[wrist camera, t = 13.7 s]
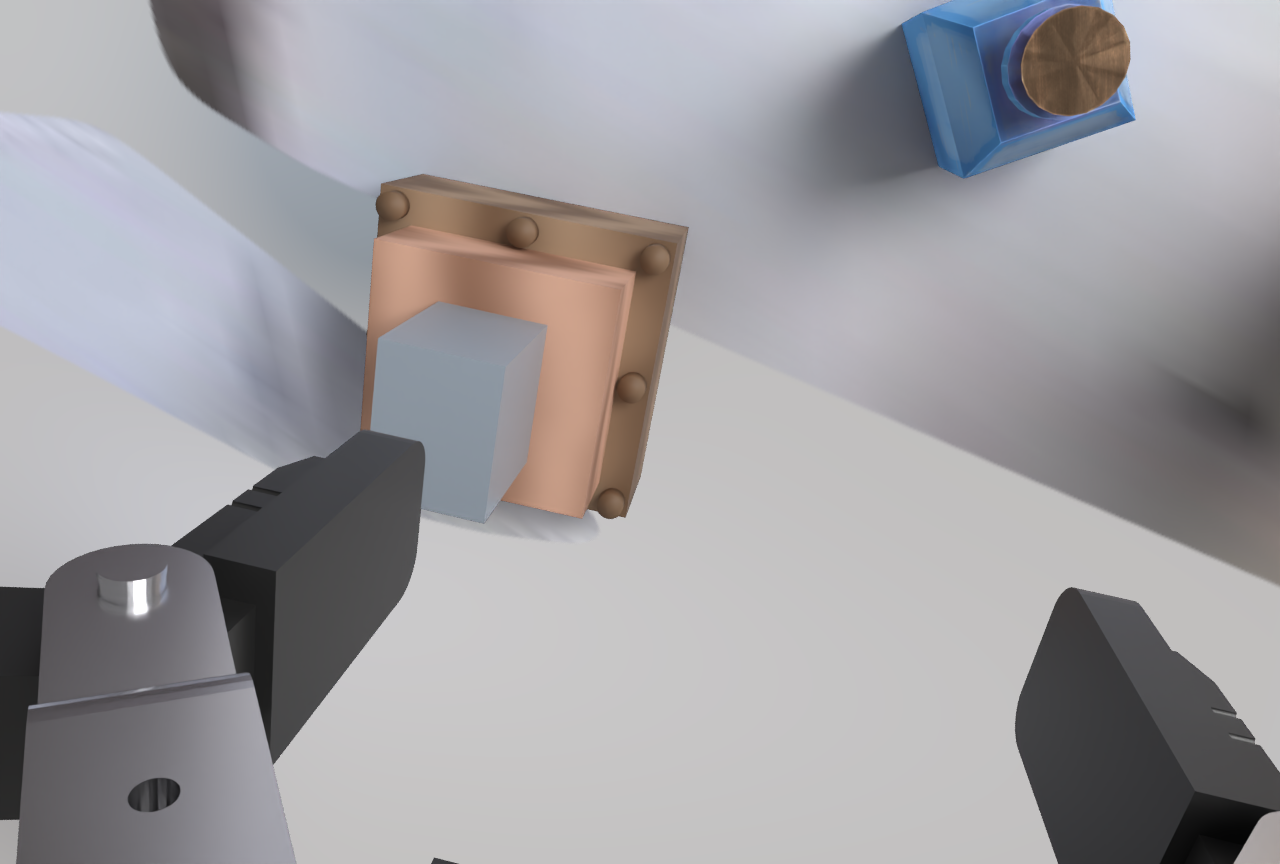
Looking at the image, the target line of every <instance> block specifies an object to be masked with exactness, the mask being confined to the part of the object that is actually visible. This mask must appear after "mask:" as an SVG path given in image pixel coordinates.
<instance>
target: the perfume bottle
mask: <svg viewBox="0 0 1280 864" xmlns="http://www.w3.org/2000/svg"><path fill="white" fill-rule="evenodd" d="M902 27H903V31H904V35H905V39H906V43H907V47H908V50H909V54H910V58H911V62H912V66H913V70H914V73H915V77H916V81H917V85H918V89H919V93H920V96H921V100H922V104H923V108H924V112H925V116H926V119H927V123H928V127H929V131H930V135H931V139H932V143H933V146H934V150H935V154H936V158H937V162H938V166H939V167H941V168H943V169H945V170H947V171H949V172H951V173H953V174H955V175H958V176H960V177H962V178H967V177H970V176H973V175H976V174H979V173H981V172H984V171H987V170H990V169H993V168H996V167H999V166H1002V165H1005V164H1008V163H1011V162H1014V161H1017V160H1020V159H1023V158H1025V157H1028V156H1031V155H1034V154H1037V153H1040V152H1043V151H1046V150H1049V149H1052V148H1055V147H1058V146H1061V145H1064V144H1067V143H1069V142H1072V141H1075V140H1078V139H1081V138H1084V137H1087V136H1090V135H1093V134H1096V133H1099V132H1102V131H1105V130H1108V129H1111V128H1114V127H1116V126H1119V125H1122V124H1125V123H1128V122H1131V121H1134V120H1135V114H1134V109H1133V104H1132V99H1131V94H1130V89H1129V84H1128V79H1127V74H1126V73H1127V69H1128V66H1129V62H1130V41H1129V39H1128V36H1127V33H1126V31H1125V28H1124V26H1123V25H1122V24H1121V23H1120V22H1119V21H1118V20H1117V18H1116V17H1115V14H1114V8H1113V3H1112V0H953V1H950V2H948V3H945V4H943V5H940V6H937V7H935V8H932V9H930V10H927V11H924V12H922V13H920V14H918V15H917V16H915V17H913V18H911V19H909V20H908V21H906V22H904V23H902Z"/></svg>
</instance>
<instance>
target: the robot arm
mask: <svg viewBox="0 0 1280 864" xmlns="http://www.w3.org/2000/svg"><path fill="white" fill-rule="evenodd" d="M424 471H425V449H424V446H423V444H422V443H421V442H420V441H416V440H411V439H407V438H402V437H398V436H393V435H389V434H384V433H380V432H375V431H371V430H366V429H364V430H361V431H360V432H358V433H357V434H356V435H354V436H353V437H352V438H351V439H349V440H348V441H347V442H345V443H344V444H343V445H342V446H340V447H339V448H338V449H337V450H335V451H334V452H333V453H331V454H330V455H329V456H328V457H326V458H320V457H316V456H313V457H310V458H307V459H304V460H301V461H298V462H295V463H292V464H289V465H285V466H282V467H279V468H277V469H276V470H274V471H273V472H271V473H270V474H269V475H267V476H266V477H265V478H263V479H262V480H261V481H259V482H258V483H257V484H255V485H254V486H253V489H252V490H247V491H246V492H244V493H243V494H241V495H240V496H239V497H237V498H236V499H235V500H233V503H232V505H226V506H225V507H224V508H222V509H221V510H219V511H218V512H217V513H215V514H214V515H213V516H211V517H210V518H209V519H207V520H206V521H205V522H203V523H202V524H200V525H199V526H198V527H196V528H195V529H193V530H192V531H191V532H189V533H188V534H187V535H185V536H184V537H183V538H181V539H180V540H178V541H177V542H176V543H174V544H173V545H172V546H167V545H159V544H130V545H122V546H114V547H109V548H104V549H100V550H97V551H93V552H90V553H87V554H84V555H82V556H79V557H77V558H75V559H73V560H71V561H69V562H67V563H65V564H64V565H63V566H61V567H60V568H58V569H57V570H56V571H55V572H54V573H53V574H52V575H51V576H50V578H49V579H48V581H47V582H46V586H45V588H20V587H19V588H17V587H0V820H19V832H18V846H17V860H16V864H296V860H295V855H294V851H293V847H292V843H291V839H290V835H289V830H288V826H287V822H286V818H285V814H284V809H283V805H282V801H281V797H280V792H279V788H278V784H277V780H276V776H275V772H274V767H273V764H274V763H275V762H276V760H277V759H278V758H279V757H280V755H281V754H282V753H283V751H284V750H285V749H286V747H287V746H288V745H289V744H290V742H291V741H292V740H293V738H294V737H295V735H296V734H297V733H298V732H299V731H300V729H301V728H302V726H303V725H304V724H305V723H306V721H307V720H308V719H309V718H310V716H311V715H312V714H313V712H314V711H315V710H316V708H317V707H318V706H319V705H320V703H321V702H322V701H323V699H324V698H325V697H326V695H327V694H328V693H329V692H330V690H331V689H332V688H333V686H334V685H335V684H336V682H337V681H338V680H339V679H340V677H341V676H342V675H343V673H344V672H345V671H346V670H347V668H348V667H349V665H350V664H351V663H352V661H353V660H354V659H355V658H356V657H357V655H358V654H359V653H360V651H361V650H362V649H363V647H364V646H365V645H366V643H367V642H368V641H369V639H370V638H371V637H372V636H373V634H374V633H375V632H376V630H377V629H378V628H379V627H380V625H381V624H382V622H383V621H384V620H385V619H386V617H387V616H388V615H389V614H390V612H391V611H392V610H393V608H394V607H395V606H396V605H397V603H398V602H399V601H400V599H401V598H402V596H403V594H404V592H405V590H406V588H407V586H408V583H409V581H410V578H411V575H412V572H413V568H414V564H415V558H416V553H417V544H418V543H417V542H418V533H419V523H420V513H421V502H422V492H423V481H424ZM1015 734H1016V742H1017V746H1018V750H1019V753H1020V756H1021V758H1022V761H1023V764H1024V767H1025V770H1026V773H1027V776H1028V778H1029V781H1030V784H1031V787H1032V790H1033V793H1034V796H1035V798H1036V801H1037V804H1038V807H1039V810H1040V813H1041V816H1042V818H1043V821H1044V824H1045V827H1046V830H1047V833H1048V836H1049V838H1050V842H1051V844H1052V847H1053V850H1054V853H1055V856H1056V858H1057V861H1058V864H1280V772H1279V771H1278V770H1277V768H1276V767H1275V765H1274V764H1273V763H1272V761H1271V760H1270V758H1269V757H1268V756H1267V754H1266V753H1265V752H1264V750H1263V749H1262V747H1261V746H1260V745H1255V738H1254V736H1253V735H1252V734H1251V732H1250V731H1249V729H1248V728H1247V727H1246V725H1245V724H1244V722H1243V721H1242V720H1241V719H1238V718H1236V711H1235V710H1234V709H1233V707H1232V706H1231V704H1230V703H1229V702H1228V700H1227V699H1226V698H1225V696H1224V695H1223V693H1222V692H1221V691H1220V689H1219V688H1218V686H1217V685H1216V684H1215V683H1214V682H1213V681H1212V680H1211V679H1210V678H1209V677H1207V676H1206V675H1205V674H1204V673H1202V672H1201V671H1200V670H1199V669H1198V668H1196V667H1195V666H1194V665H1193V664H1191V663H1190V662H1189V661H1188V660H1186V659H1185V658H1184V657H1183V656H1181V655H1180V654H1179V653H1178V652H1175V651H1172V650H1171V649H1170V647H1169V646H1168V645H1167V643H1166V642H1165V640H1164V639H1163V637H1162V636H1161V634H1160V633H1159V632H1158V630H1157V629H1156V627H1155V626H1154V624H1153V623H1152V621H1151V620H1150V618H1149V617H1148V615H1147V614H1146V613H1145V611H1144V610H1143V608H1142V607H1141V606H1140V605H1139V603H1137V602H1135V601H1131V600H1127V599H1122V598H1118V597H1113V596H1108V595H1104V594H1100V593H1095V592H1090V591H1086V590H1082V589H1077V588H1072V587H1071V588H1068V589H1066V590H1065V591H1064V592H1063V593H1062V594H1061V595H1060V597H1059V598H1058V600H1057V602H1056V604H1055V606H1054V609H1053V611H1052V614H1051V616H1050V619H1049V622H1048V624H1047V627H1046V629H1045V632H1044V635H1043V637H1042V640H1041V642H1040V645H1039V647H1038V650H1037V653H1036V655H1035V658H1034V660H1033V663H1032V666H1031V669H1030V671H1029V673H1028V676H1027V678H1026V681H1025V684H1024V686H1023V689H1022V691H1021V694H1020V697H1019V701H1018V706H1017V712H1016V721H1015ZM431 864H457V863H453V862H449V861H445V860H441V859H438V858H434V859H433V861H432V863H431Z"/></svg>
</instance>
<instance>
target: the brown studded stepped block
mask: <svg viewBox="0 0 1280 864" xmlns="http://www.w3.org/2000/svg"><path fill="white" fill-rule="evenodd" d="M376 210H377V212H378V214H379V222H378V235H377V238H375V239H374V247H373V262H372V275H371V290H370V303H369V319H368V330H367V346H366V360H365V374H364V388H363V402H362V416H361V430H364V429H366V430H370V428H371V416H372V404H373V392H374V380H375V368H376V357H377V345H378V338H379V337H381V336H382V335H384V334H386V333H387V332H389V331H391V330H392V329H394V328H396V327H397V326H399V325H400V324H402V323H404V322H405V321H407V320H409V319H410V318H412V317H414V316H415V315H417V314H419V313H420V312H422V311H424V310H425V309H427V308H428V307H430V306H432V305H433V304H435V303H437V302H438V301H440V302H444V303H449V304H453V305H458V306H462V307H467V308H471V309H476V310H481V311H485V312H490V313H494V314H499V315H503V316H508V317H512V318H517V319H522V320H526V321H531V322H535V323H540V324H544V325H548V326H547V333H546V339H545V346H544V352H543V359H542V365H541V372H540V378H539V385H538V392H537V398H536V405H535V411H534V418H533V424H532V431H531V437H530V444H529V451H528V457H527V462H526V464H525V465H524V467H523V468H522V470H521V471H520V473H519V474H518V475H517V477H516V478H515V480H514V481H513V483H512V484H511V486H510V487H509V488H508V490H507V491H506V493H505V494H504V496H503V497H502V499H501V500H502V501H506V502H511V503H515V504H520V505H524V506H528V507H533V508H537V509H542V510H546V511H551V512H555V513H559V514H564V515H568V516H573V517H577V518H583V516H584V514H585V511H586V509H589V510H594V511H598V512H599V514H600V515H601V516H603V517H604V518H607V519H613V518H616V517H618V516H621V517H626V514H627V512H628V509H629V506H630V504H631V501H632V498H633V495H634V493H635V490H636V488H637V485H638V482H639V479H640V477H641V472H642V466H643V461H644V456H645V451H646V446H647V441H648V435H649V430H650V424H651V419H652V415H653V409H654V404H655V399H656V394H657V389H658V383H659V378H660V373H661V368H662V363H663V357H664V352H665V347H666V342H667V337H668V332H669V326H670V321H671V316H672V311H673V306H674V300H675V295H676V290H677V285H678V280H679V274H680V269H681V264H682V259H683V254H684V248H685V243H686V238H687V233H688V228H689V227H684V226H679V225H674V224H669V223H664V222H659V221H654V220H649V219H644V218H639V217H634V216H629V215H624V214H619V213H614V212H609V211H604V210H599V209H594V208H589V207H584V206H579V205H574V204H569V203H564V202H559V201H554V200H549V199H544V198H539V197H534V196H530V195H525V194H520V193H515V192H510V191H505V190H500V189H495V188H490V187H485V186H480V185H475V184H470V183H465V182H460V181H455V180H450V179H445V178H440V177H435V176H430V175H425V174H421V175H417V176H412V177H408V178H404V179H399V180H395V181H391V182H386V183H382V184H381V193H380V195H379V197H378V198H377V200H376ZM361 430H360V431H361Z"/></svg>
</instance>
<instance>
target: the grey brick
mask: <svg viewBox="0 0 1280 864" xmlns="http://www.w3.org/2000/svg"><path fill="white" fill-rule="evenodd" d="M547 326H548V325H544V324H540V323H535V322H531V321H526V320H522V319H517V318H512V317H508V316H503V315H499V314H494V313H490V312H485V311H481V310H476V309H471V308H467V307H462V306H458V305H453V304H449V303H444V302H440V301H438V302H437V303H435V304H433V305H432V306H430V307H428V308H427V309H425V310H424V311H422V312H420V313H419V314H417V315H415V316H414V317H412V318H410V319H409V320H407V321H405V322H404V323H402V324H400V325H399V326H397V327H396V328H394V329H392V330H391V331H389V332H387V333H386V334H384V335H382V336H381V337H379V338H378V345H377V357H376V368H375V380H374V392H373V404H372V416H371V428H370V430H371V431H375V432H380V433H384V434H389V435H393V436H398V437H402V438H407V439H411V440H416V441H420V442H421V443H422V444H423V446H424V449H425V471H424V481H423V492H422V502H421V509H424V510H428V511H433V512H437V513H441V514H445V515H450V516H454V517H458V518H462V519H467V520H471V521H475V522H479V523H483V524H484V523H485V522H486V520H487V519H488V517H489V516H490V514H491V513H492V511H493V510H494V509H495V507H496V506H497V504H498V503H499V501H500V500H501V499H502V497H503V496H504V494H505V493H506V491H507V490H508V488H509V487H510V486H511V484H512V483H513V481H514V480H515V478H516V477H517V475H518V474H519V473H520V471H521V470H522V468H523V467H524V465H525V464H526V462H527V457H528V451H529V444H530V437H531V431H532V424H533V418H534V411H535V405H536V398H537V392H538V385H539V378H540V372H541V365H542V359H543V352H544V346H545V339H546V333H547Z"/></svg>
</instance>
